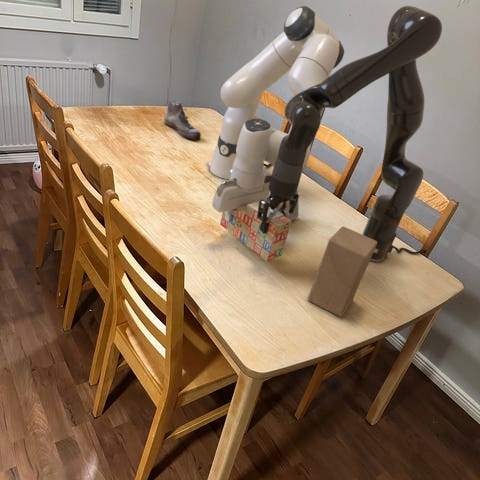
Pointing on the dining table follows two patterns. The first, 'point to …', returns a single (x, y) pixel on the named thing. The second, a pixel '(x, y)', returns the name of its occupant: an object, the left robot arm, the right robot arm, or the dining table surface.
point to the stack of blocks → (258, 230)
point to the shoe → (180, 121)
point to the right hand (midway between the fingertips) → (271, 229)
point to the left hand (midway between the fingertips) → (237, 217)
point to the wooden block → (341, 270)
